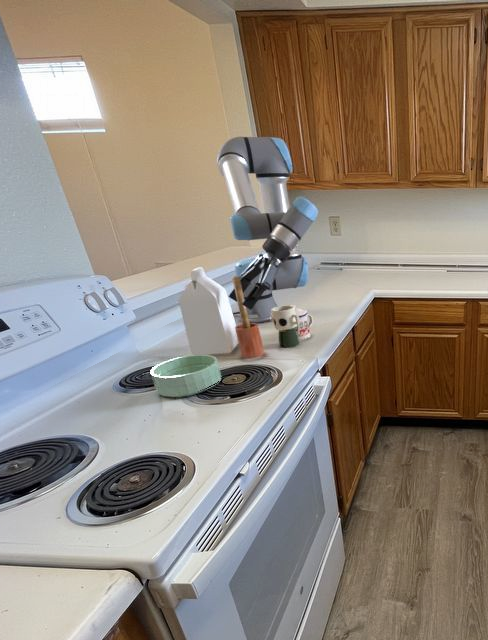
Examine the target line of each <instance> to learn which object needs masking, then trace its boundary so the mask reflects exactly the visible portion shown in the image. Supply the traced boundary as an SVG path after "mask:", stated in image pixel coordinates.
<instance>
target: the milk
mask: <svg viewBox="0 0 488 640" xmlns="http://www.w3.org/2000/svg"><path fill="white" fill-rule="evenodd" d="M190 277H191V279H190V280H188V281H187V283H186V284H185V286H184V289H183V290H182V292H181V294H180V295H179V297H178V302H179V303H178V304H179V308H180V311H181V316H182V320H183V324H184V329H185V333H186V336H187V342H188V345H189V350H190V354H191V355H219V354H228V353H232V352H233V350H234V349H235V347H237V346H238V345H239V343H238V338H237V334H236V330H235V327H236V326H237V323H236V320H235V317H234V315H233V313H234V312H233V310H232V307H231V303H230V299H229V297H228V296H229V295H228V293H227V290H226V289H225V287H223V286H222V285H221V284H219V283H218V282H216V281H214V279H212V278H210V277H208V276H207V275H206V273H205V270H204V268H203V266H202V267H201V266H200V267H199V266H198V267H196V268H193V269H191V270H190Z"/></svg>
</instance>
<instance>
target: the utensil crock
mask: <svg viewBox="0 0 488 640" xmlns="http://www.w3.org/2000/svg"><path fill="white" fill-rule="evenodd" d="M250 327H251V328H246V329H243V324H242V323H241V324H240V323H239V324H238V325H236V327H235V330H236V334H237V338H238V347H239V351H240V355H241V358H243V359H256V358H259V357H262V356H263V355H264V354H265V351H264V346H263V341H262V336H261V331H260V327H259V324H258V323H250Z"/></svg>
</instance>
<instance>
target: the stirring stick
mask: <svg viewBox="0 0 488 640" xmlns="http://www.w3.org/2000/svg"><path fill="white" fill-rule="evenodd" d="M232 285H233V289H235V294H236V298H237V306H238V312H240V314H239V315H240V316H241V317H240V320H242V321H241V324H243V329H246V328H251V327H250V323H249V318H248V313H247V309H246V307H245V306H244V305H242V303H243V302H244V295H243V291H242V286H241V282H240V278H239V277H237V276H236V275H235V276H233V277H232Z"/></svg>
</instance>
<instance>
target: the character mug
mask: <svg viewBox="0 0 488 640" xmlns="http://www.w3.org/2000/svg"><path fill="white" fill-rule="evenodd" d="M290 305H291V304H290ZM290 305H277V306H278V307H274V308H272V309H271V313H270V317H271V321H270V322H272V325H273V327H274V329H275V330H277V331H278V346H279V348H284V349H291V348H294V347H297V346H298V345H300V340H298V337H297V334H296V331H295V329H294V327H296V326H297V325H299V317H298V315H296V313H295V308H294V306H290Z"/></svg>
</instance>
